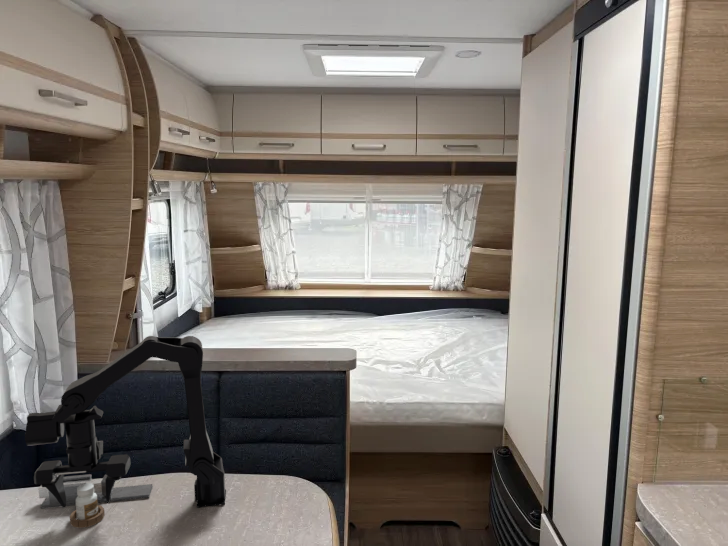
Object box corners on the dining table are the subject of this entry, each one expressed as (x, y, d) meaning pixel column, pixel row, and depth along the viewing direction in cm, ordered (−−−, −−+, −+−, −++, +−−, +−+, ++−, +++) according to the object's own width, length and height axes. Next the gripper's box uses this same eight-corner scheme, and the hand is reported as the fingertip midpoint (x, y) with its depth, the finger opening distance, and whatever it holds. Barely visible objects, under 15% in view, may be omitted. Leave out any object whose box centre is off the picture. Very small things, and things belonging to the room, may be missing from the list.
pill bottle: (90, 525, 127) (87, 492, 126) (72, 523, 128) (70, 490, 127) (102, 514, 132) (100, 483, 130) (86, 512, 132) (83, 481, 131)
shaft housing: (152, 486, 144) (151, 468, 143) (148, 497, 139) (147, 479, 138) (48, 496, 140) (47, 478, 139) (40, 508, 134) (39, 489, 134)
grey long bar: (110, 488, 141) (109, 474, 141) (106, 495, 138) (105, 481, 137) (44, 494, 138) (42, 480, 138) (38, 502, 135) (37, 487, 134)
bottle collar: (107, 509, 134) (106, 503, 134) (99, 525, 127) (99, 519, 127) (75, 512, 133) (75, 506, 132) (66, 529, 126) (66, 522, 126)
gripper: (133, 421, 137) (137, 482, 139) (48, 427, 133) (53, 490, 135) (122, 440, 126) (127, 507, 128) (30, 448, 122) (36, 516, 125)
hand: (86, 504), depth 129 cm, fingers open, 9 cm apart
